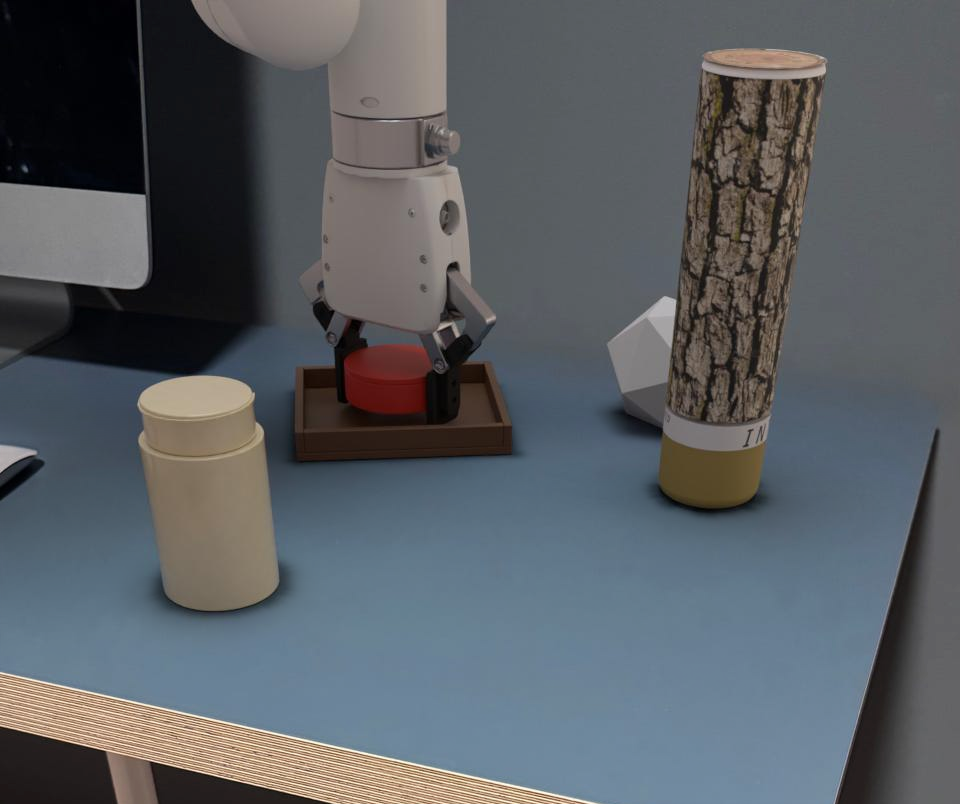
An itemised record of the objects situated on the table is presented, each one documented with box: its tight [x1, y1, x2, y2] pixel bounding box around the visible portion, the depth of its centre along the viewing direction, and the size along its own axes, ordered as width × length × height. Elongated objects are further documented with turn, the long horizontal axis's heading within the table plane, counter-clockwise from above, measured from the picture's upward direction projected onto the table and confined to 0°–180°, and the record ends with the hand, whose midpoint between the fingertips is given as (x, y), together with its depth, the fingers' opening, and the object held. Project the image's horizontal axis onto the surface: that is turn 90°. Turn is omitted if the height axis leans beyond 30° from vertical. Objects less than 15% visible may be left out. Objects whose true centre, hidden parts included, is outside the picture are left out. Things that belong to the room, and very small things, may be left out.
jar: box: [136, 375, 281, 612], centre depth 71 cm, size 7×7×11 cm
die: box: [606, 295, 677, 429], centre depth 92 cm, size 8×9×10 cm
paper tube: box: [657, 48, 828, 510], centre depth 77 cm, size 7×7×25 cm
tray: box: [294, 360, 513, 462], centre depth 93 cm, size 15×13×2 cm
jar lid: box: [344, 343, 433, 414], centre depth 91 cm, size 8×8×2 cm
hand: (397, 408), depth 93 cm, fingers closed on jar lid, 7 cm apart
